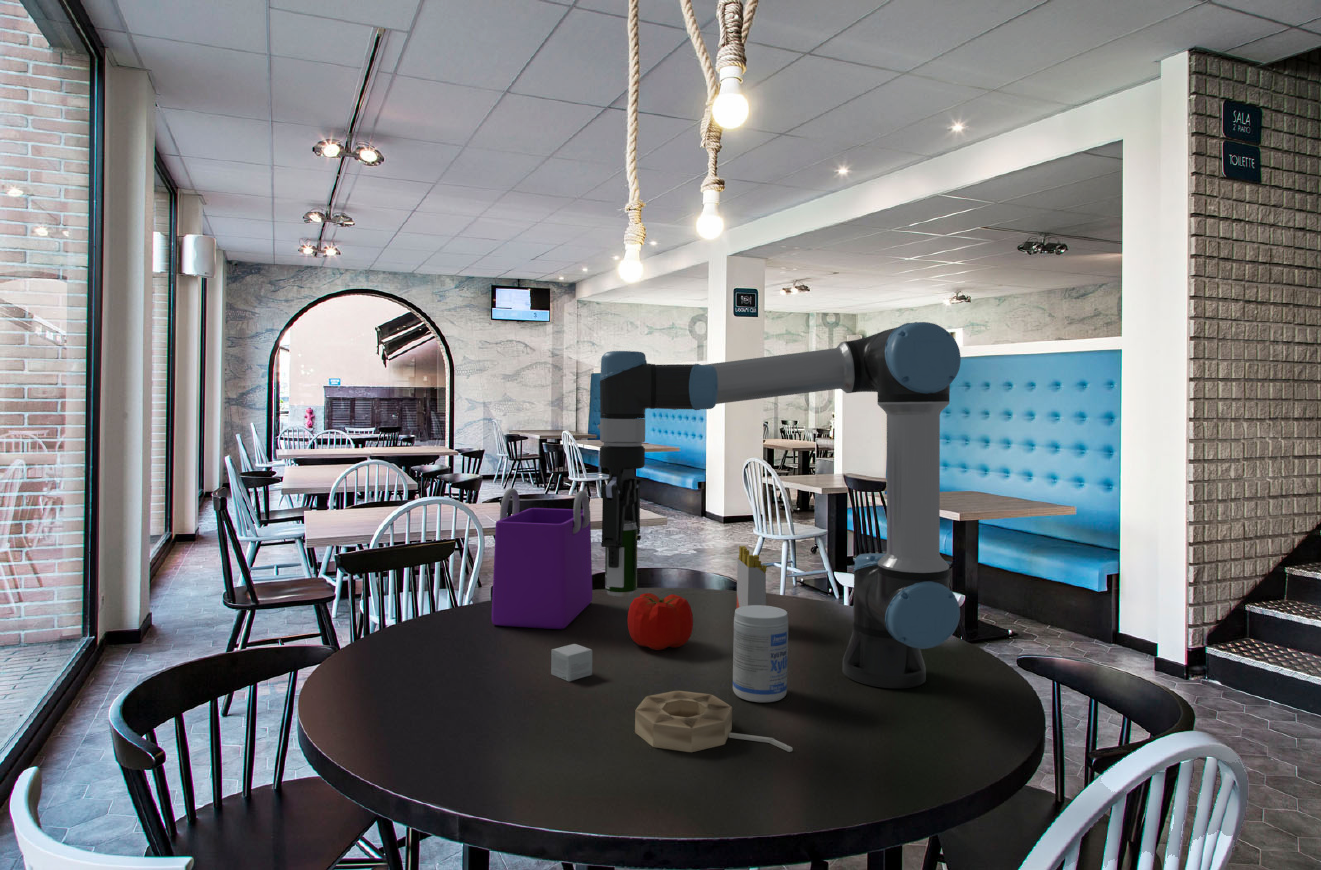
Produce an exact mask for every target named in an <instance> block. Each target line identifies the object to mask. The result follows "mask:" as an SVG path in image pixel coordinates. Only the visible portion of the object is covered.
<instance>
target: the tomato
mask: <svg viewBox="0 0 1321 870" xmlns="http://www.w3.org/2000/svg"><path fill="white" fill-rule="evenodd" d="M691 607H692V606H691V605H690V603H689V601H688V600H687V599H686V598H683V597H682V596H680V595H677V594H670V595H667V596H666V597H661V598H660V597H659V596H658V595H655V594H654V593H651V592H646V593H642V594H640V595H639V596H637V597H634V598H633V600H632V602H631V603H630V605H629V608H628V611H627V628H628V629H627V630H628V633H629V636H630V638H631V639H632V641H633V642H635V644H637V645H638V646H640V647H648V648H649V649H651V650H655V651H661V650H665V649H667V648H668V647H670V648H679V647H681V646H683V645H685V644H687V642H688V641H689V640H690V638H691V636H692V634H693V633H692V632H693V629H694V628H693V625H694V617H693V611H692V608H691Z"/></svg>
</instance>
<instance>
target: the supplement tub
mask: <svg viewBox="0 0 1321 870" xmlns="http://www.w3.org/2000/svg"><path fill="white" fill-rule="evenodd" d="M788 615H789V613H788V611H786V610H785V609H783V608H780V607H777V606H771V605H766V606H764V605H749V606H742V607H739V608H737V607H736V609H735V610H734V617H733V644H732V645H733V649H732V650H733V651H732V653H733V656H732V659H733V660H732V690H733V693H734V694H735V695H736V697H738V698H740V699H742V700H744V701H747V702H755V703H773V702H777V701H780V700H783V699H784V698H785V696H786V695H787V692H788V663H789V661H788V659H789V658H788V656H789V655H788V654H789V651H788V650H789V618H788V617H789V616H788Z"/></svg>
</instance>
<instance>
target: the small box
mask: <svg viewBox="0 0 1321 870" xmlns="http://www.w3.org/2000/svg"><path fill="white" fill-rule="evenodd" d="M550 655H551V663H550V665H551V667H550V668H551V669H550V670H551V671H550V672H551V673H550V674H551V675H552V676H555V677H557V678H559V679H562V680H564V681H566V682H573V681H576V680H579V679H582V678H585V677H590V676H593V649H591V648H588V647H585V646H583V645H579V644H577V643H572V644H568V645H564V646H561V647H557V648H551V654H550Z"/></svg>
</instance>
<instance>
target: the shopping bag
mask: <svg viewBox="0 0 1321 870" xmlns="http://www.w3.org/2000/svg"><path fill="white" fill-rule="evenodd" d="M502 496H503V497H502V499H501V504H500V510H499V511H500V512H499V520H497V521H495V532H494V533H495V535H494V552H493V555H494V557H493V576H492V577H493V579H492V598H491V599H492V602H491V622H492V624H493V625H495V626H499V627H513V628H516V627H517V628H532V629H547V630H563V629H565V628H567V627H568V626H569V625H570V624H571V622H573V621H574V619H576V617H578V615H580V613H582V612H583V611H584V610H585V609H586V608H587V607H588V606H589V605H590V604H591V602H592V601H593V570H592V569H593V567H592V566H593V564H592V560H593V559H592V530H591V529H592V527H591V509H590V500H589V497H588V494H587V492H586V491H584V490H579V491H577V493H576V494H575V497H574V500H573V507H572V509H571V508H547V507H546V508H545V507H530V508H527V509H524V510H522V511H520V496H519V492H518V490H517V489H515V488H508V489H507V490H506V491H505V492H504V493H503V495H502ZM511 499H512V515H509V516H508V509H509V503H510V500H511ZM581 507H582V508H581Z"/></svg>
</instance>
